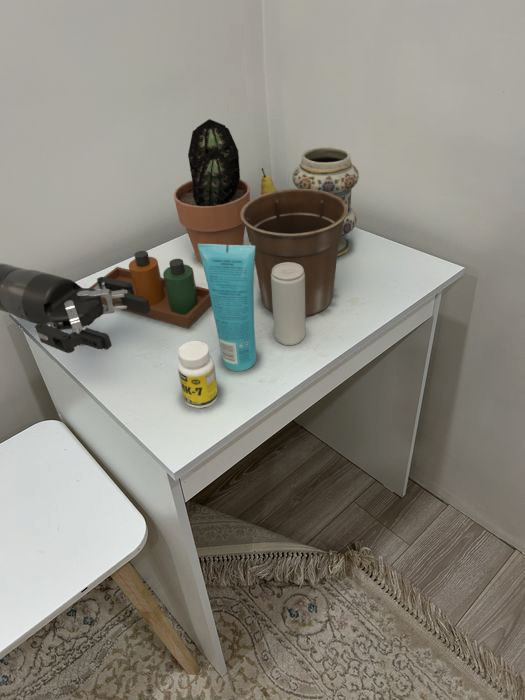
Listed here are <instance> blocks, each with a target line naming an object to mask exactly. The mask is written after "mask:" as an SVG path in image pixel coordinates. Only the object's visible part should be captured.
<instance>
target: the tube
mask: <svg viewBox="0 0 525 700" xmlns="http://www.w3.org/2000/svg"><path fill="white" fill-rule="evenodd" d="M198 249H199V253H200V256H201V259H202V263H203V264H202V263H201V264H202V267H203V271H204V276H205V278H206V283H207V289H209V293H210V298H211V303H212V305H211V308H212V312H213V317H214V321H215V327H216V332H217V338H218V343H219V348H220V354H221V358H222V363H223V365H224V367H225V368H227V370H230V371H234V372H243V371H247V370H249V369H250V368H252V367H253V366H254V365H255V364H256V362H257V351H256V349H257V348H256V330H255V298H254V297H255V296H254V295H255V294H254V285H255V282H254V278H255V277H254V276H255V275H254V274H255V262H254V259H255V246H251V245H244V244H243V245H217V244H198Z"/></svg>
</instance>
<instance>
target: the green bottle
mask: <svg viewBox="0 0 525 700" xmlns="http://www.w3.org/2000/svg"><path fill="white" fill-rule="evenodd" d="M162 276H163V278H164V281H165V286H166V291H167V296H168V301H169V306H170V310H171V311H172V312H174V313H177V314H181V315H185V314H188V313H189V312H190V311H191V310H192V309H193V308H194V307H195V306H196V305H197V304H198V298H197V292H196V286H197V285H196V280H195V279H196V278H195V274H194V269H193V267H192V266H191V265H189V264H185V262H184V260H183V259H182V258H173V259H171V260H170V261H169V267H166V268H165V270H164V271H163V272H162Z"/></svg>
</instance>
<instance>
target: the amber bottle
mask: <svg viewBox="0 0 525 700" xmlns="http://www.w3.org/2000/svg"><path fill="white" fill-rule="evenodd" d="M133 255H134V256H133V257H134V259H133V260H131V261H130V262H129V263H128V270H130V274H131V278H132V282H133V286H134V290H135V294H136V295H137V296H141V297H144V298H146V299H147V300H148V302H149V305H155V304H157V303H159V302H161V301H162V300H163V299H164V297H165V295H164V290H163V285H162V280H161V278H162V275H161V271H160V265H159V262H158V259H157V258H155V257H152V256H150V255H149V252H148V251H146V250H139V251H137V252H135V253H134V254H133Z"/></svg>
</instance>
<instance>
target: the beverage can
mask: <svg viewBox="0 0 525 700" xmlns="http://www.w3.org/2000/svg"><path fill="white" fill-rule="evenodd" d="M271 284H272V302H273V312H272V320H273V336H274V338H275V340H276V341H277V342H278V343H280V344H282V345H285V346H294V345H298V344H299V343H302V341H303V340H304V338H305V337H306V316H305V273H304V269H303V267H302V266H301V265H299V264H297V263H292V262H285V263H280V264H278V265H276V266H274V267H273V269H272V274H271Z"/></svg>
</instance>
